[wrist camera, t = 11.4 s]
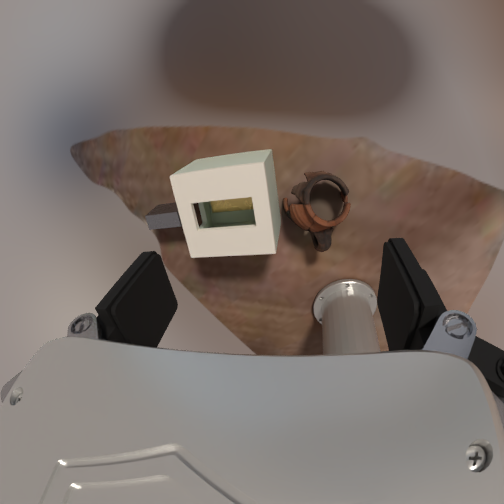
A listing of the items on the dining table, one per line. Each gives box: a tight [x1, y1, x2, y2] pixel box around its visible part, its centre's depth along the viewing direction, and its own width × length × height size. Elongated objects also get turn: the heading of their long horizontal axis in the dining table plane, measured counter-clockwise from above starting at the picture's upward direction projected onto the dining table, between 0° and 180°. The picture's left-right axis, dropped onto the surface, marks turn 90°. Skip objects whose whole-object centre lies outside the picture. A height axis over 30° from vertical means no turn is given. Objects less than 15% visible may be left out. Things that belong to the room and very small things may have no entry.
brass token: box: [210, 197, 253, 213], centre depth 41 cm, size 2×6×5 cm, turn 98°
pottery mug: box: [283, 171, 351, 252], centre depth 40 cm, size 12×10×8 cm
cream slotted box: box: [170, 149, 281, 258], centre depth 39 cm, size 12×12×10 cm
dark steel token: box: [145, 202, 182, 230], centre depth 45 cm, size 2×6×5 cm, turn 98°
